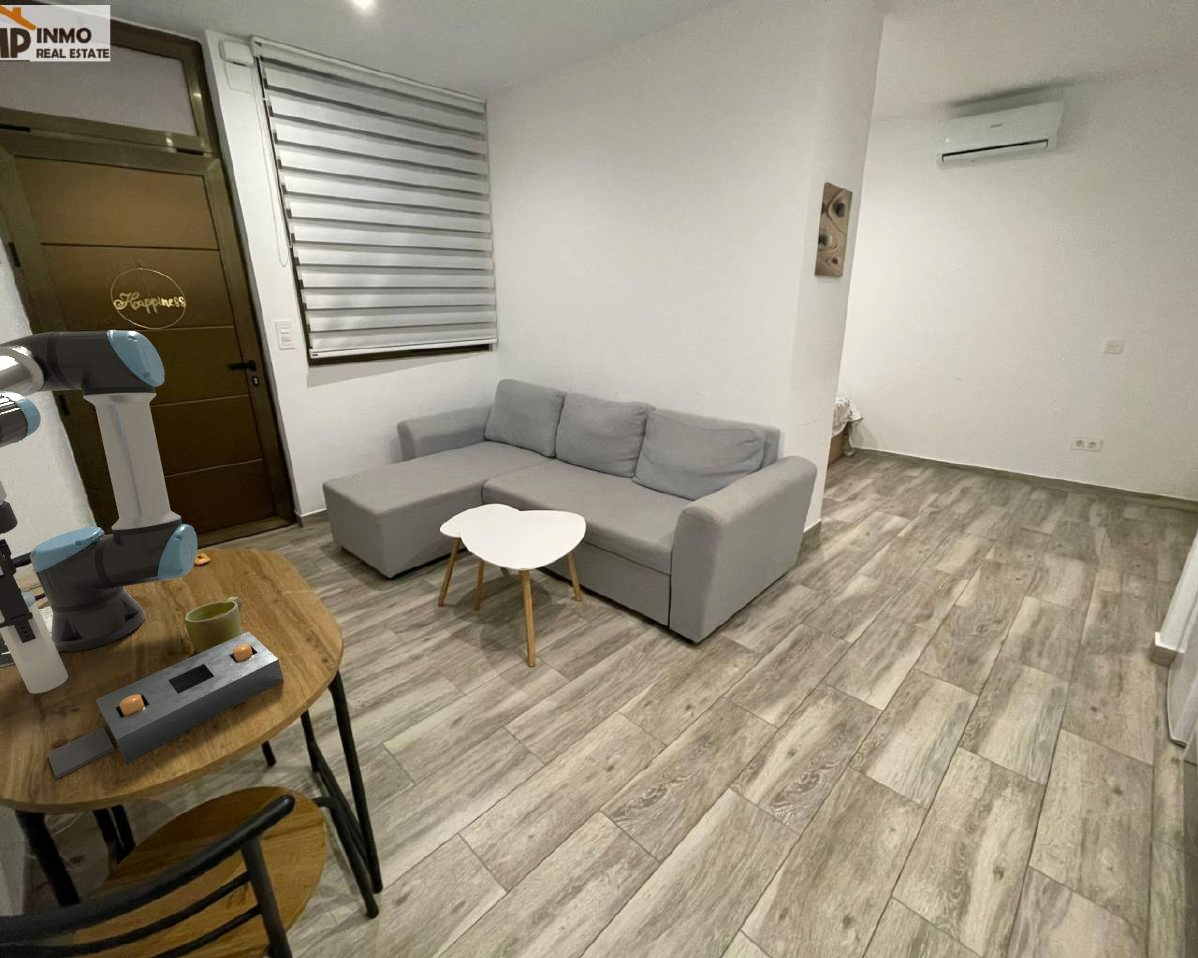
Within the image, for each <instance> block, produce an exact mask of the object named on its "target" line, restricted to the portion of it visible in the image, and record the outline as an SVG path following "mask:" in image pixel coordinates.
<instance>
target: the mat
mask: <svg viewBox="0 0 1198 958" xmlns="http://www.w3.org/2000/svg"><path fill="white" fill-rule="evenodd" d="M112 743H113V742H112V741H111V738H110V737H109V735H108V733H107V732H106V729H105V727H104V726H101V727H100V728H97V729H95V730H94V731H91V732H89V733H87V734H84V735H82V736H81V737H78V738H76V739H74V740H72V741H70V742H67V743H66V744H64V745H62V746H59V747H57V748H55V749H53V750H51V751H49V752H47V757H48V760H49V763H50V765H51V768H52V769H51V770H52V771H53V774H54V777H55V779H56V780H59V777H60V778H62V777H64V776H66V775H68V774H70V773H72V772H73V771H76V770H77V769H79V768H82V767H83V766H85V765H87V764H90V763H92V762H94V761H95V760H97V759H99V758H101V757H103V756H105V755H107V754H110V753H112V752H113V751H114V750H116V749H115V747H114V744H112ZM61 776H62V777H61Z"/></svg>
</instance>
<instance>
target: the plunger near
mask: <svg viewBox="0 0 1198 958" xmlns="http://www.w3.org/2000/svg"><path fill="white" fill-rule="evenodd" d="M119 705H120V708H121V710H122V713H123V715H124V717H125V716H127V715H129V714H131V713H133V712H135V711H137V710H140V709H142V708H144V707H145V706H144V703H143V701H142V698H141V696H140V695H132V696H129V697H127V698H125V699H123V700H122V701H121V702H120V704H119Z"/></svg>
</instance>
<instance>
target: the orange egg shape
mask: <svg viewBox="0 0 1198 958" xmlns="http://www.w3.org/2000/svg"><path fill="white" fill-rule="evenodd" d="M233 652H234V656H235V659H236V662H237V663H238V662H240V661H242V660H244V659H246V658H248V657H250V656H252V655H253V653H252V650H251V646H250V645H249V644H243V645H240V646H238V647H236V648H235V649H234V651H233Z"/></svg>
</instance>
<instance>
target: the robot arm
mask: <svg viewBox="0 0 1198 958" xmlns="http://www.w3.org/2000/svg"><path fill="white" fill-rule="evenodd" d="M165 375H166V373H165V368H164V365H163V362H162V359H161V356H160V355H159V353H158V351H157V349H156V348H155V346H154V345H153V344H152V342H151V341H150V340H149V339H148V338H147V337H146V336H144V334H141V333H140V332H137V331H134V330H116V329H107V330H105V329H104V330H88V331H87V330H81V331H47V332H42V333H41V332H40V333H36V334H31V335H26V336H23V337H20V338H15V339H12V340H10V341H5V342H4V343H0V449H1V448H4V447H7V446H9V445H11V444H15V443H20V441H23V440H24V439H26V438H27V437H29V436H30V435H32V434H34V433H35V432H36V431H37V430H38V429H39V427H40V425H41V422H42V421H41V420H42V417H41V412H40V410H39V408H38V407H37V406H36V404H35V403H33V401H31V400H30V399H29V398H28V396H32V395H34V394H35V393H41V392H52V391H79V390H81V393H82V394H81V395H82V398H83V399H84V400H86V401H88V402H89V403H91V404H92V405H93V406H94V407H95V411H96V415H97V421H98V425H99V430H100V434H101V439H102V444H103V448H104V453H105V457H106V462H107V466H108V471H109V476H110V480H111V485H112V490H113V496H114V498H115V499H114V500H115V504H116V509H117V513H118V517H119V518H118V519H117V520H116V522H115V523H114V524H113V525H112V526H111V531H112V533H111V534H105V531H104V530H103V528H101V527H98V526H88V527H82V528H78V529H73V530H70V531H67V532H65V533H61V534H59V535H56V536H52V537H51V538H49V539H46V540H45V541H42V542H41V543H40V544H38V545H37V546H35V547H34V548H33V549H32V550H31V552H30V555H29V558H30V562H31V564H32V568H33V569H32V571H33V573H35V575H36V578H37V579H38V582H39V584H40V586H41V588H42V590H43V592H44V595H45V597H46V599H47V601H48V604H49V606H50V608H51V611H52V621H51V622H52V623H51V634H50V636H51V638H52V640H53V642H54V645H55V647H56V648H57V651H60V652H66V653H71V652H72V653H74V652H83V651H87V650H88V651H89V650H91V649H95V648H99V647H101V646H106V645H107V644H110V643H112V642H116V641H117V640H120V639H122V638H123V637H126V636H128V635H129V634H131V633H132V632H134V631H135V630H137V629H138V628H139V627H140V626H142V624H143V623H144V621H145V619H146V614H145V612H144V608H143V607H142V606H141V605H140V603H139V602H138V601H137V600H135V598H134V597H132V595H131V594H130V593H129V592H128V591H126V589H125V587H128V586H135V585H140V584H141V585H142V584H147V583H148V584H149V583H154V582H166V581H169V580H173V579H178V578H182V577H185V576H186V575H188V574H189V573H190V571H191V570H192V569H193V567H194V564H195V562H196V559H197V555H198V537H197V533H196V531H195V528H194V527H193V526H192V525H191V524H190V525H189V524H187V523H186V524H185V523H182V522H183V521H182V517H181V515H180V514H177V513H176V512H174V511H172V510H171V505H170V500H169V496H168V490H167V487H166V481H165V475H164V471H163V466H162V460H161V455H160V451H159V447H158V440H157V436H156V432H155V425H154V421H153V416H152V412H151V411H152V410H151V406H150V403H151V401H152V400H153V399H154V398H155V397H156V396H157V392H156V387H160V386H161V385H163V384H164V382H165ZM7 497H8V495H7V491H6V490H5V487H4V485H3V483H2V481H1V480H0V535H2V534H7V533H8V532H11V531H12V530H14V529H15V528H16V527H18V519H17V516H16V515H15V513H14V509H13V508H12V506H11V503H10V502H8V501H6V499H7ZM12 553H13V552H12V551H11V548H10V546H9V545H8V543H7V540H6V539H5V538H3V539H2V538H1V539H0V611H1V613H2V615H3V617H4V619H5V621H4V622H2V623H0V628H3V627H6V626H7V628H8V630H9V632H10V634H11V636H12V638H13V640H14V643H15V645H16V647H17V649H18V651H19V653H20V655H21V657H22V659H23V661H24V662H26V661H29V660H31V659H34V658H37V657H39V656H42V655H45V654H47V653H50V652H49V650H48V648H47V646H46V644H45V641H44V639H43V637H42V635H41V633H40V630H39V628H38V626H37V624H36V621H35V619H34V617H33V614H32V612H30V611H29V609H28V607H27V605H26V603H25V600H24V598H23V596H22V594H21V592H22V590H21V587H19V585H18V582H17V581H16V579H15V576H14V575H16V573H17V568H16V567H15V563H14V562H13V559H12Z"/></svg>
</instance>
